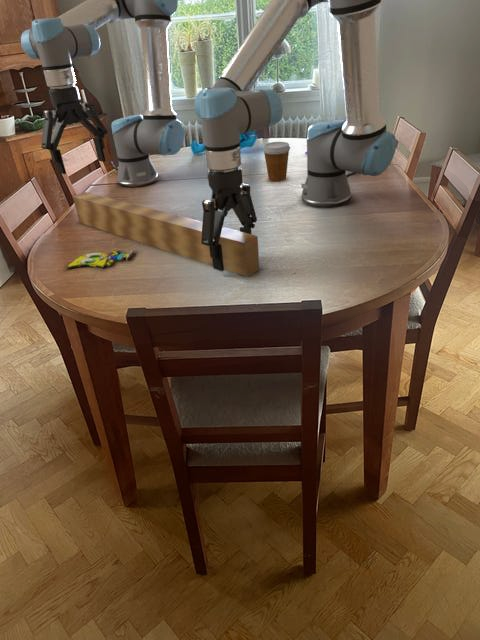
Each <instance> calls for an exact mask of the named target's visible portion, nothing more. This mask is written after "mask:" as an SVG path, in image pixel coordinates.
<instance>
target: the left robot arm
mask: <svg viewBox="0 0 480 640" xmlns="http://www.w3.org/2000/svg"><path fill="white" fill-rule="evenodd" d="M178 5H179V3H178V0H85V1H83V2H81V3H79V4H78V5H76V6H74V7H73V8H71V9H69V10H67V11H66V12H64V13H62V14H60V15H59V16H57V17H50V18H49V17H47V18H39V19H34V20H33V21H32V22H31V28H29V29H25V30H24V31H22V33H21V35H20V45H21V48H22V51H23V52H24V54H25V55H26V56H27V57H28V58H29V59H32V60H40V63H41V67H42V70H43V71H42V72H43V75H44V79H45V83H46V86H47V87H48V88H49V89H48V93H49V97H50V101H51V104H52V107H53V110H48V109H47V110H46V109H44V110H43V118H44V119H43V120H44V121H43V128H42V129H43V130H42V136H41V137H42V138H41V145H40V146H41V149H43V150H47V151H49V154H50V156H51V160H52V162H53V163H55V165H56V168H57V172H58V174H60V175H67V170H66V167H65V163H64V159H63V156H62V152H61V149H59V148H58V146H59V144H60V142H61V140H62V139H61V138H62V135H63V133H64V130H65V128H66V127H67V125H68V126H70V125H73V124H78V123H80V124H81V125H82V126H83V127H84V128H85V129H86V130H87V131H88V132H90V133H91V134H92V135H93V136H94V137H93V138H92V140H93V145H94V148H95V152H96V157H97V161H98V162H101V163H102V162H103V163H104V162H107V160H106V156H105V152H104V151H105V150H104V149H105V148H106V147H105V142H104V138H105V137H106V136H105V135H107V134H108V130H107V128H106V127H105V125H104V123H103V122H102V121H101V119H100V118H99V116H98V115H97V113H96V112H95V110H94V108H93V104H92V102H90V101H83V102H82V103H81V96H80V92H79V88H78V86H77V85H76V84H77V82H76V81H77V79H76V77H75V76H76V75H75V72H74V68H73V62H72V59H79V58H87V57H91V56H94V55H96V54H97V53H98V52H99V50H100V47H101V41H100V40H101V39H100V36H99V33H98V31H97V30H98V29H100V28H101V27H102V26H104V25H106V24H113V23H115V22H117V21H121V20H128V19H134V23H135V24H136V26H137V27H138V28H139V29H140V40H141V42H140V43H141V53H142V66H143V77H144V90H145V104H146V110H145V111H144V112H143V113H142V114H133V115H129V116H125V117H121V118H118V119H115V120H113V121H112V122H111V132H112V133H111V135H112V140H113V142H114V147H115V151H116V156H117V160H118V167H117V166H115V165H114V163H113V160H112V161H111V160H110V161H109V165H110V166H111V167H112V169H114V170H116V171H117V183H118V186H120V187H123V188H124V187H125V188H136V187H137V188H138V187H145V186H147V185H148V186H149V185H151V184H154V183H156V182H157V181H158V180H159V176H158V172H157V169H156V168H155V166H154V163H153V161H152V159H151V156H150V155H154V156H155V155H156V156H164V157H166V156H173V155H176V154H177V153H179V152H180V151H181V148H182V147H183V144H184V141H185V128H184V126H183V123H182V121H180V120H179V119H177V118H178V117H177V113H176V112H175V111H174V110H173V107H172V106H173V105H172V104H173V103H172V92H171V91H172V90H171V89H172V88H171V73H170V71H171V70H170V59H169V58H170V55H169V41H168V29H169V27H170V26H171V24H172V17H173V16H174V15H175V14H176V12H177V9H178ZM83 112H85V114H86V115H87V116H88V118H89V120H90V121H91V122H90V121H89V120H88V118H87V117H86V116H85V115H84V114H83ZM55 117H56V118H57V119H56V121H55ZM54 121H55V122H54ZM54 123H55V126H54Z"/></svg>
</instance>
